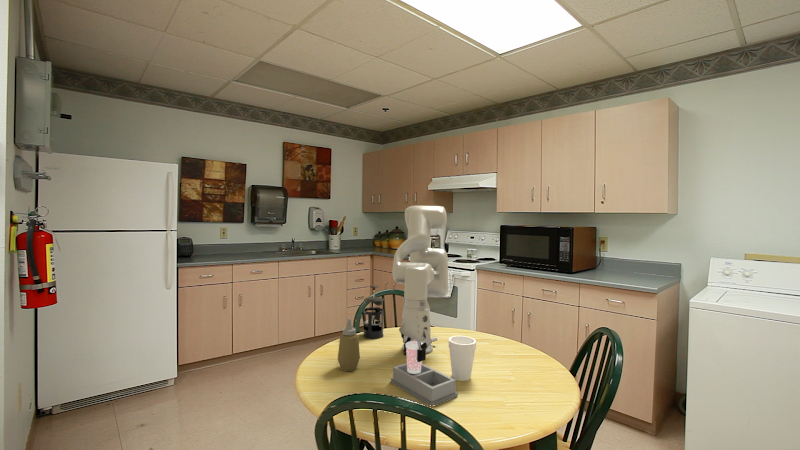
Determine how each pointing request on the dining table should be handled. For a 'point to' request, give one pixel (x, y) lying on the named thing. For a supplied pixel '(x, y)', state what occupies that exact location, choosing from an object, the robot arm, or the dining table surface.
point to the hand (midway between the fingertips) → (414, 357)
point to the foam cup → (462, 356)
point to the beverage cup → (413, 357)
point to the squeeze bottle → (349, 348)
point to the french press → (373, 324)
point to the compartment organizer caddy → (425, 384)
